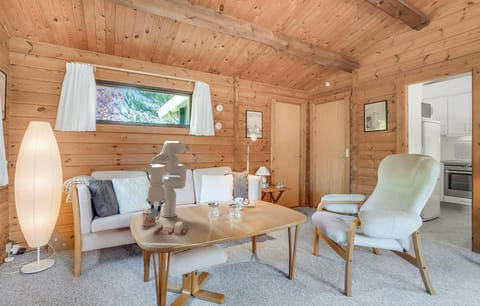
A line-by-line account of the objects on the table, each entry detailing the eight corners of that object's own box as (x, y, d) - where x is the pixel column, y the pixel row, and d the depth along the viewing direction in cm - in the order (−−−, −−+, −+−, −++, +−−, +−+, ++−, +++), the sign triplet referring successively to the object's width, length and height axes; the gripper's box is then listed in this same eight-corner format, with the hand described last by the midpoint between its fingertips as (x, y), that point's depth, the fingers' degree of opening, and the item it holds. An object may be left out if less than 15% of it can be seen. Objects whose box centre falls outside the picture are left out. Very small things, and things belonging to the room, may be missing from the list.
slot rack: (160, 228, 161) (160, 225, 161) (188, 229, 162) (188, 225, 162) (153, 235, 147) (153, 231, 147) (184, 236, 148) (184, 232, 148)
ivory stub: (177, 228, 159) (177, 221, 159) (182, 228, 159) (182, 221, 159) (174, 233, 150) (174, 225, 150) (179, 233, 150) (180, 225, 150)
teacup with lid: (143, 226, 164) (144, 210, 164) (140, 223, 172) (141, 207, 172) (161, 224, 170) (161, 208, 170) (158, 221, 178) (158, 205, 178)
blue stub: (155, 213, 165) (155, 206, 164) (160, 213, 165) (160, 206, 165) (151, 217, 156) (151, 209, 155) (156, 217, 156) (156, 209, 156)
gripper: (170, 183, 163) (169, 210, 164) (146, 183, 163) (145, 209, 163) (167, 185, 156) (166, 213, 157) (141, 184, 155) (141, 212, 156)
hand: (155, 211), depth 160 cm, fingers closed on blue stub, 3 cm apart
